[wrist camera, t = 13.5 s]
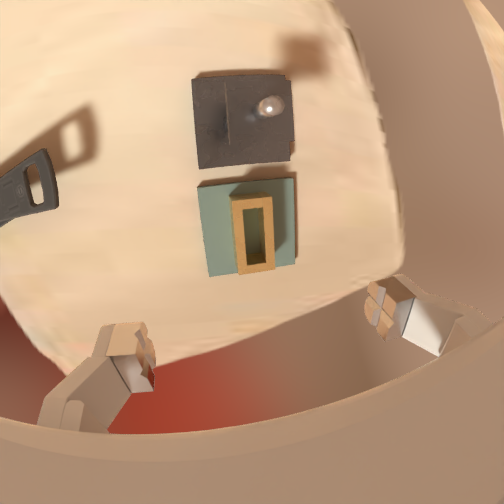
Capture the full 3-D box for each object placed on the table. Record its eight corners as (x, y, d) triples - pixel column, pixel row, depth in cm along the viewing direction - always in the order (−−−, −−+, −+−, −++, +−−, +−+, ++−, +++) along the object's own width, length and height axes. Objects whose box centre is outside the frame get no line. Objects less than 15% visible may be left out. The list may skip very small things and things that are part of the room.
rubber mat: (197, 187, 36) (197, 188, 35) (290, 177, 38) (293, 178, 37) (208, 273, 41) (209, 276, 40) (292, 261, 43) (294, 264, 42)
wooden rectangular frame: (228, 195, 36) (231, 201, 33) (265, 191, 37) (272, 196, 34) (235, 263, 40) (238, 274, 37) (268, 258, 41) (275, 269, 38)
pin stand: (191, 81, 30) (188, 38, 15) (281, 77, 32) (338, 43, 17) (198, 168, 35) (200, 189, 20) (286, 160, 37) (346, 177, 22)
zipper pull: (61, 212, 27) (-41, 253, 24) (80, 199, 33) (-20, 239, 30) (45, 141, 23) (-55, 202, 20) (68, 140, 29) (-33, 192, 26)
